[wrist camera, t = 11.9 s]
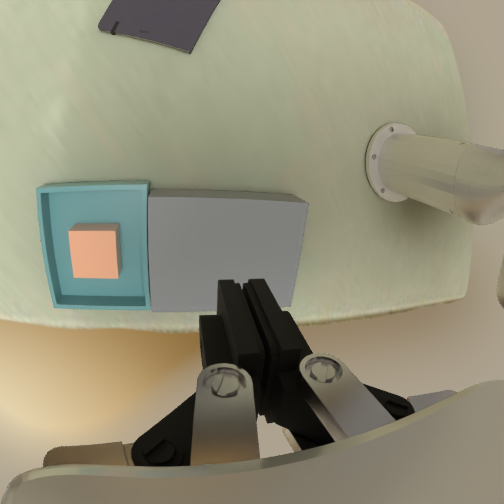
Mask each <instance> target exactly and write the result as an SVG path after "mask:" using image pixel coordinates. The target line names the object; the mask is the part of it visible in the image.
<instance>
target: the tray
mask: <svg viewBox="0 0 504 504" xmlns="http://www.w3.org/2000/svg"><path fill="white" fill-rule="evenodd" d="M36 192H37V207H38V219H39V228H40V236H41V244H42V251H43V257H44V263H45V269H46V274H47V279H48V284H49V288H50V293H51V297H52V302H53V306H54V308H65V309H94V310H151V293H150V277H149V253H148V196H149V181H91V182H69V183H52V184H45V185H42V186H40V187H38V188H36ZM76 223H120V245H121V262H122V269H121V272H120V275H119V279H108V278H74V275H73V268H72V261H71V253H70V244H69V233H68V231H69V230H70V229H71V228H72V227H73V226H74V225H75V224H76Z"/></svg>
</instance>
